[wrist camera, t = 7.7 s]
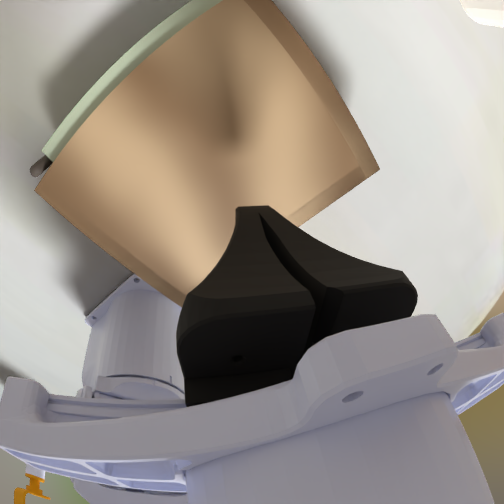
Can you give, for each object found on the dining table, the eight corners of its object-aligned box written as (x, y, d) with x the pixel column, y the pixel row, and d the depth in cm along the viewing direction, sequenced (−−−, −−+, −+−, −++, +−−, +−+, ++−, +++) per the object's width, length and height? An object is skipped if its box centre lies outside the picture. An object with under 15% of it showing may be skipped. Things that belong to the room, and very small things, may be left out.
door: (81, 138, 16) (53, 162, 12) (70, 127, 15) (39, 148, 12) (237, 4, 13) (249, -13, 9) (225, -9, 12) (234, -29, 9)
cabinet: (183, 259, 23) (182, 307, 19) (58, 149, 16) (23, 180, 12) (342, 142, 19) (379, 169, 15) (230, -8, 12) (241, -32, 8)
